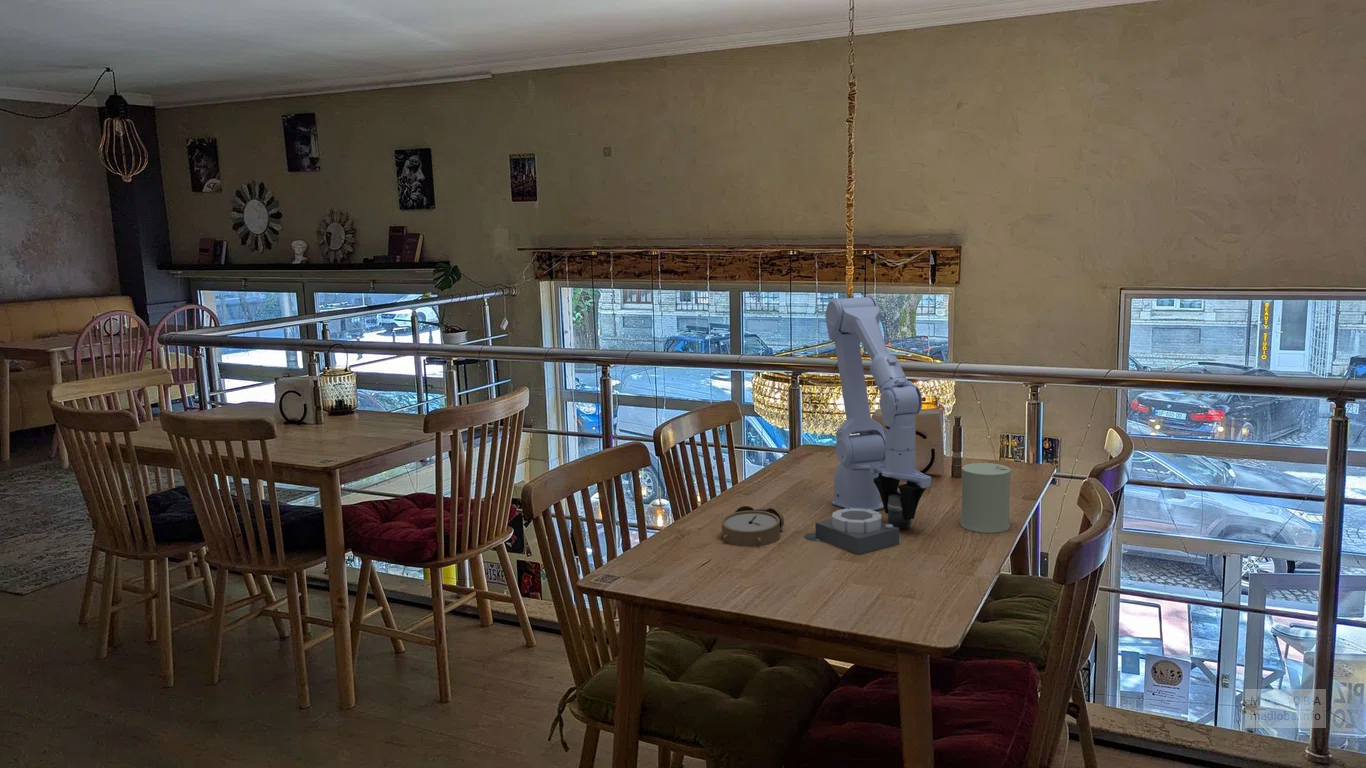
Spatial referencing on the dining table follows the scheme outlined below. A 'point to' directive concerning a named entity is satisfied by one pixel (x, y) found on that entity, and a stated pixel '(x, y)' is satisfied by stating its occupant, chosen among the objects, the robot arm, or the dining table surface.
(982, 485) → the can
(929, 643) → the dining table surface
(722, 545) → the dining table surface
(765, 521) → the alarm clock
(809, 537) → the lens cap
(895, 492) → the lens
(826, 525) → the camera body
